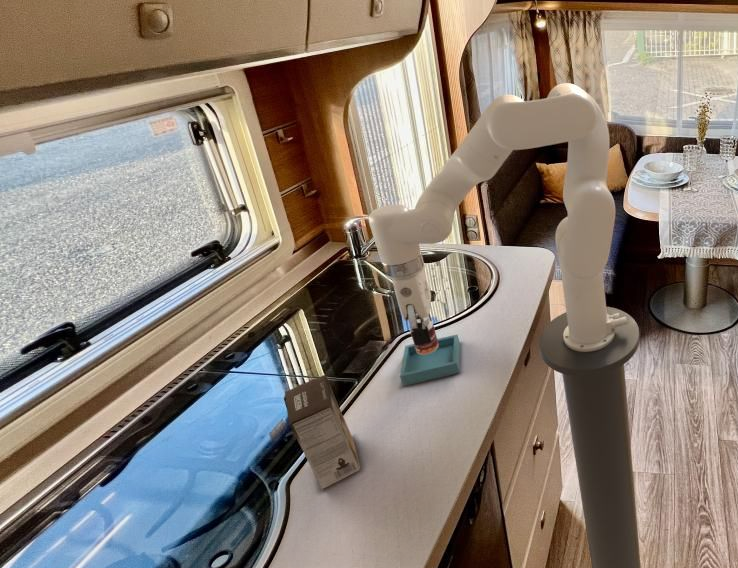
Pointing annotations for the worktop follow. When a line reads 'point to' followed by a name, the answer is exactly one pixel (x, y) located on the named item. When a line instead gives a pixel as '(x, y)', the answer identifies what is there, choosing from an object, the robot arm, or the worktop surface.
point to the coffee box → (321, 431)
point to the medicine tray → (431, 362)
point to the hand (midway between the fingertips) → (424, 334)
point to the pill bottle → (433, 345)
